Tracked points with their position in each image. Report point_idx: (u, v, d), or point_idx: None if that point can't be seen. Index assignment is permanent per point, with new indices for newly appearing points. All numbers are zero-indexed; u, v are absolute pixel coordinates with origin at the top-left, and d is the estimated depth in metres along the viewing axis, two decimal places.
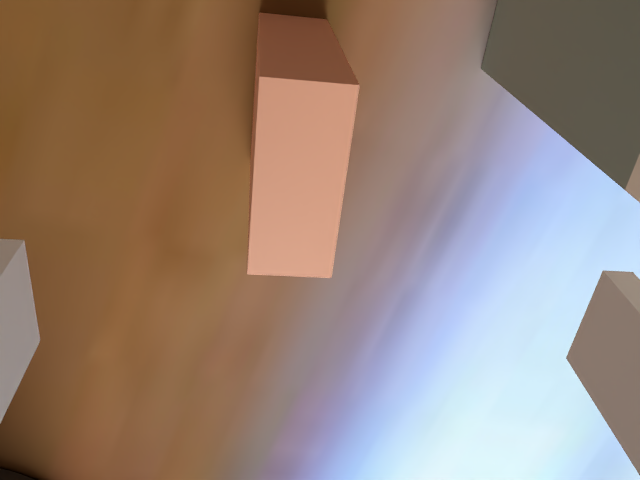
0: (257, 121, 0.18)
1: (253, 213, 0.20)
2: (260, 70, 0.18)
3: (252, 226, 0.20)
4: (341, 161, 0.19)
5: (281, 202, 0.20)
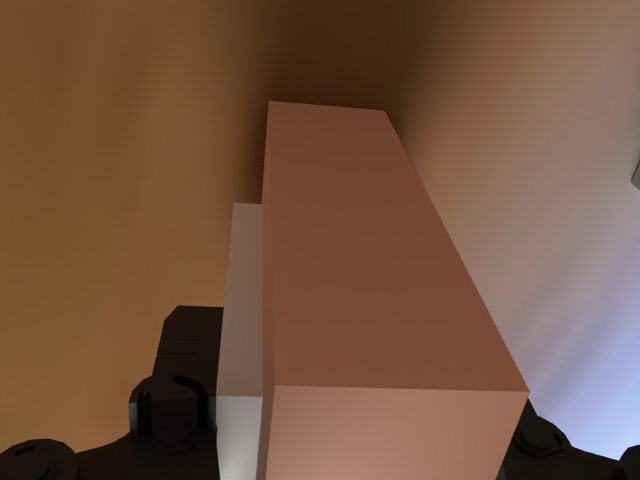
0: (268, 464, 0.07)
1: None
2: (277, 345, 0.07)
3: None
4: None
5: None
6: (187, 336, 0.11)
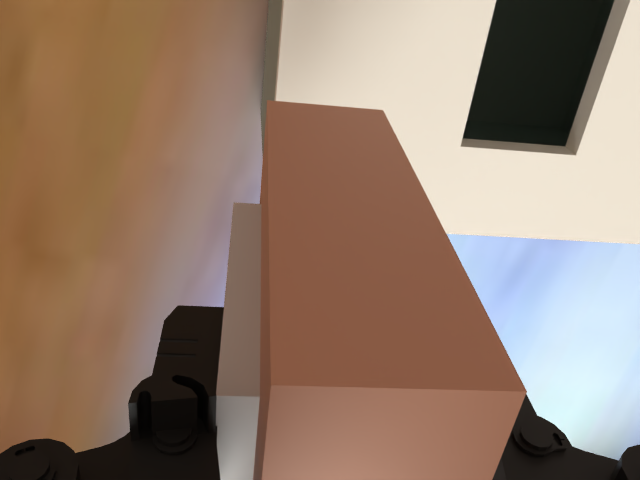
0: (265, 464, 0.07)
1: None
2: (273, 344, 0.07)
3: None
4: None
5: None
6: (187, 336, 0.11)
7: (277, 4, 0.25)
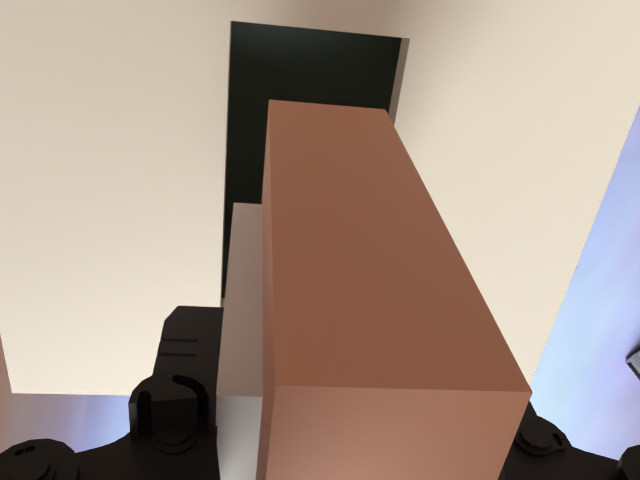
0: (269, 464, 0.07)
1: None
2: (277, 344, 0.07)
3: None
4: None
5: None
6: (187, 336, 0.11)
7: None
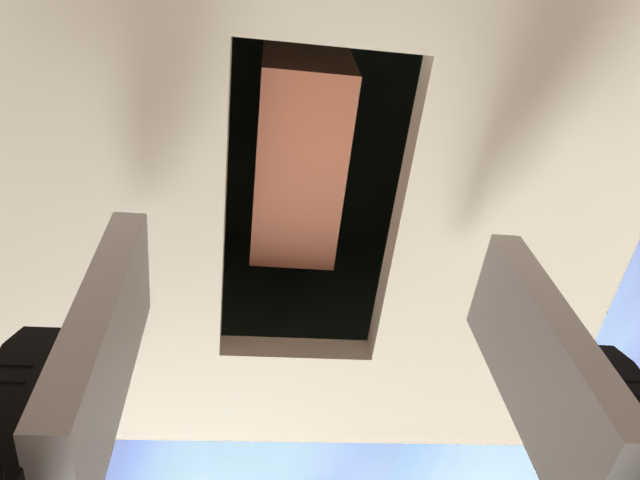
0: (259, 112, 0.18)
1: (255, 204, 0.20)
2: (263, 61, 0.18)
3: (254, 218, 0.20)
4: (343, 153, 0.19)
5: (283, 193, 0.20)
6: (22, 362, 0.10)
7: None
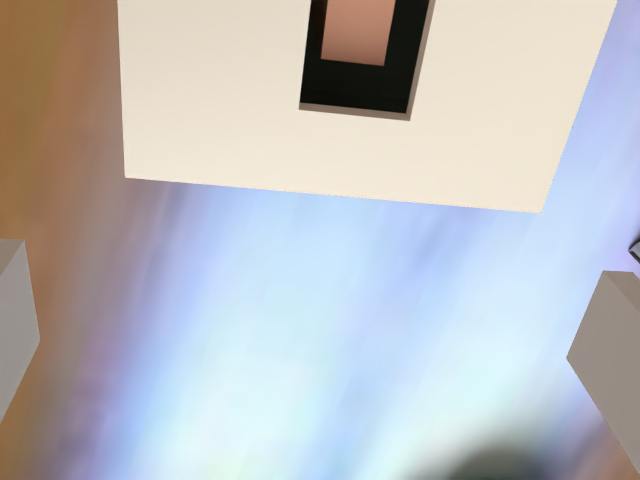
0: None
1: (329, 4, 0.27)
2: None
3: (327, 16, 0.27)
4: None
5: None
6: None
7: None
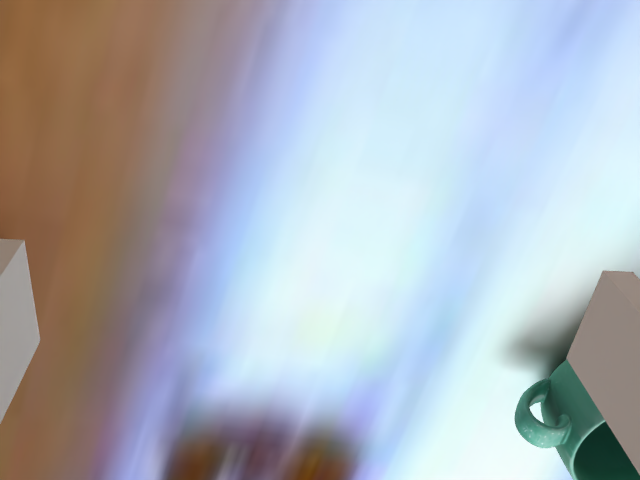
0: None
1: None
2: None
3: None
4: None
5: None
6: None
7: None
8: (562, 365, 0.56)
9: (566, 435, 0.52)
